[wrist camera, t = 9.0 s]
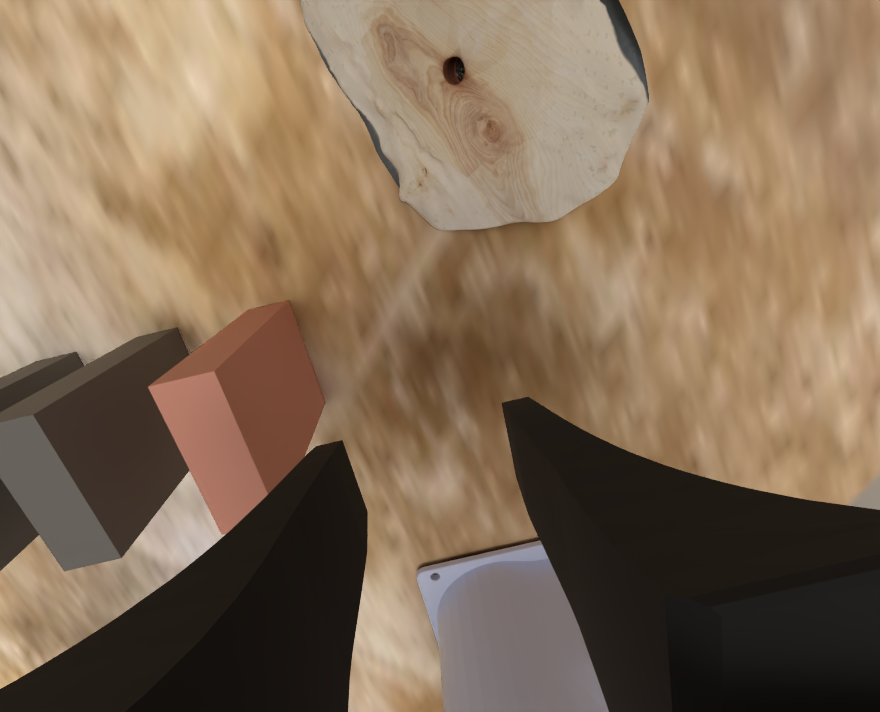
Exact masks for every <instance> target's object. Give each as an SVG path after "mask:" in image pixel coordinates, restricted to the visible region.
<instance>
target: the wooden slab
mask: <svg viewBox="0 0 880 712" xmlns="http://www.w3.org/2000/svg"><path fill="white" fill-rule="evenodd" d="M300 1H301V7H302V12H303V17H304V22H305V24H306V27H307V29H308V31H309V33H310V34H311V36H312V39H313V40H314V42H315V43H316V45H317V48H318V50H319V52H320V55H321V57H322V59H323V61H324V62H325V64H326V66H327V68H328V70H329V72H330V73H331V74H332V76H333V77H334V79H335V80H336V82H337V83H338V85H339V87H340V88H341V89H342V91H343V92H344V93H345V95H346V96H347V97H348V99H349V100H350V102H351V103H352V105H353V106H354V107H355V108H356V110H357V111H358V113H359V114H360V116H361V118H362V119H363V121H364V123H365V125H366V127H367V129H368V131H369V133H370V136H371V138H372V141H373V143H374V146H375V149H376V151H377V153H378V155H379V157H380V159H381V160H382V162H383V163H384V165H385V166H386V168H387V169H388V171H389V172H390V174H391V175H392V177H393V179H394V180H395V182H396V183H397V185H398V187H399V188H400V191H399V198H400V201H402V202H406V203H408V204H409V205H410V206H411V207H412V208H414V209H415V210H416V211H417V212H418V213H419V214H420V215H421V216H422V217H423V218H424V219H425V220H426V221H427V222H428V223H429V224H431V225H432V226H433V227H435V228H437V229H439V230H471V229H485V228H492V227H498V226H502V225H506V224H510V223H515V222H550V221H554V220H557V219H559V218H561V217H563V216H565V215H566V214H567V213H569V212H570V211H571V210H573V209H574V208H576V207H578V206H579V205H581V204H583V203H585V202H587V201H588V200H590V199H592V198H594V197H596V196H597V195H599V194H600V193H601V192H603V191H604V190H605V189H606V188H608V187H609V186H610V185H611V184H612V183H613V182H614V181H615V180H616V179H617V178H618V174H619V171H620V168H621V166H622V163H623V160H624V157H625V155H626V152H627V150H628V147H629V145H630V143H631V141H632V139H633V137H634V135H635V133H636V131H637V129H638V127H639V124H640V122H641V120H642V117H643V115H644V112H645V110H646V107H647V105H648V102H649V94H648V86H647V80H646V74H645V68H644V63H643V59H642V54H641V51H640V48H639V45H638V43H637V40H636V38H635V35H634V33H633V30H632V28H631V26H630V23H629V21H628V19H627V17H626V14H625V12H624V10H623V8H622V6H621V4H620V2H619V0H300Z"/></svg>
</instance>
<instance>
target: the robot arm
mask: <svg viewBox="0 0 880 712" xmlns="http://www.w3.org/2000/svg"><path fill="white" fill-rule="evenodd" d="M502 408H503V413H504V418H505V423H506V428H507V433H508V438H509V443H510V448H511V453H512V458H513V463H514V468H515V473H516V478H517V481H518V484H519V487H520V490H521V493H522V496H523V499H524V502H525V505H526V508H527V511H528V514H529V517H530V519H531V521H532V524H533V526H534V528H535V530H536V532H537V534H538V537H539V539H540V541H535V542H531V543H526V544H522V545H518V546H513V547H509V548H504V549H500V550H496V551H491V552H487V553H483V554H478V555H474V556H469V557H465V558H461V559H456V560H452V561H447V562H443V563H439V564H434V565H430V566H425V567H422V568H420V569H419V570H418V571H417V582H418V585H419V588H420V591H421V594H422V597H423V600H424V603H425V606H426V610H427V613H428V616H429V619H430V622H431V625H432V628H433V631H434V634H435V637H436V640H437V643H438V646H439V650H440V665H441V680H442V695H443V710H444V712H880V510H876V509H868V508H861V507H854V506H847V505H840V504H832V503H825V502H818V501H811V500H805V499H799V498H794V497H789V496H784V495H779V494H774V493H769V492H764V491H759V490H754V489H749V488H745V487H740V486H736V485H732V484H728V483H724V482H720V481H716V480H712V479H709V478H705V477H702V476H698V475H695V474H691V473H688V472H684V471H681V470H678V469H675V468H672V467H668V466H665V465H662V464H660V463H657V462H654V461H652V460H649V459H646V458H644V457H641V456H638V455H636V454H633V453H631V452H628V451H626V450H624V449H621V448H619V447H617V446H615V445H612V444H610V443H608V442H606V441H604V440H602V439H600V438H598V437H596V436H594V435H592V434H590V433H588V432H586V431H584V430H582V429H580V428H579V427H577V426H575V425H573V424H571V423H570V422H568V421H566V420H565V419H563V418H561V417H559V416H558V415H556V414H555V413H553V412H551V411H550V410H548V409H547V408H545V407H544V406H542V405H540V404H539V403H537V402H536V401H534V400H532V399H531V398H529V397H525V398H521V399H516V400H512V401H508V402H504V403H502ZM366 556H367V509H366V506H365V503H364V500H363V498H362V495H361V492H360V489H359V486H358V483H357V481H356V478H355V475H354V472H353V469H352V466H351V464H350V461H349V458H348V455H347V452H346V449H345V446H344V444H343V441H342V440H341V441H337V442H333V443H328V444H324V445H320V446H316V447H315V448H314V449H313V450H311V451H310V452H309V453H308V454H307V455H306V456H305V457H304V458H303V459H302V460H301V461H300V462H299V463H298V464H297V465H296V466H295V467H294V468H293V469H292V470H291V471H290V472H289V473H288V474H287V475H286V476H285V477H284V478H283V479H282V480H281V481H280V482H279V484H278V485H277V486H276V487H275V488H274V489H273V490H272V491H271V492H270V493H269V494H268V495H267V496H266V497H265V498H264V499H263V500H262V501H261V502H260V503H259V504H258V505H257V506H256V507H254V508H253V509H252V510H251V511H250V512H249V513H248V514H247V515H246V516H245V517H244V518H243V519H242V520H241V521H240V522H239V523H238V524H236V525H235V526H234V527H233V528H232V529H231V530H230V531H229V532H228V533H227V534H226V535H225V536H224V537H222V538H221V539H220V540H219V541H218V542H217V543H216V544H214V545H213V546H212V547H211V548H210V549H208V550H207V551H206V552H205V553H204V554H203V555H201V556H200V557H199V558H198V559H196V560H195V561H194V562H193V563H191V564H190V565H189V566H188V567H186V568H185V569H184V570H183V571H181V572H180V573H179V574H177V575H176V576H175V577H174V578H172V579H171V580H170V581H168V582H167V583H165V584H164V585H163V586H161V587H160V588H158V589H157V590H156V591H154V592H153V593H151V594H150V595H148V596H147V597H146V598H144V599H143V600H141V601H140V602H139V603H137V604H136V605H134V606H133V607H132V608H130V609H129V610H127V611H126V612H125V613H123V614H122V615H120V616H119V617H118V618H116V619H115V620H113V621H112V622H110V623H109V624H107V625H105V626H104V627H102V628H101V629H99V630H98V631H96V632H95V633H93V634H91V635H90V636H88V637H87V638H85V639H84V640H82V641H81V642H79V643H77V644H76V645H74V646H73V647H71V648H69V649H68V650H66V651H64V652H63V653H61V654H59V655H58V656H56V657H55V658H53V659H51V660H50V661H48V662H46V663H45V664H43V665H41V666H40V667H38V668H36V669H35V670H33V671H31V672H30V673H28V674H26V675H24V676H23V677H21V678H19V679H18V680H16V681H14V682H12V683H10V684H9V685H7V686H5V687H3V688H1V689H0V712H348V699H349V680H350V670H351V660H352V651H353V645H354V638H355V631H356V625H357V618H358V611H359V605H360V598H361V591H362V585H363V578H364V571H365V564H366ZM433 573H438V574H436V575H433Z"/></svg>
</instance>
